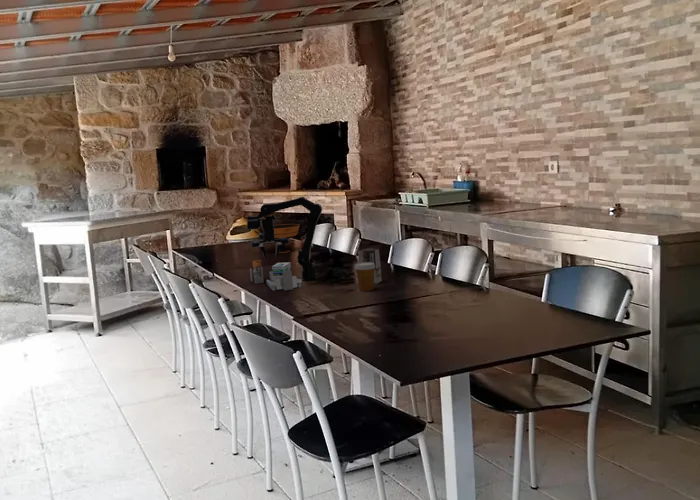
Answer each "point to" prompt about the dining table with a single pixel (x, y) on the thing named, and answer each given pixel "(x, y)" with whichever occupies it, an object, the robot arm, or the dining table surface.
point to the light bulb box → (280, 269)
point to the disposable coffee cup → (365, 275)
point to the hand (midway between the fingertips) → (271, 258)
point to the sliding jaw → (286, 281)
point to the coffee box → (373, 257)
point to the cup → (286, 233)
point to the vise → (261, 280)
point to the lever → (256, 266)
